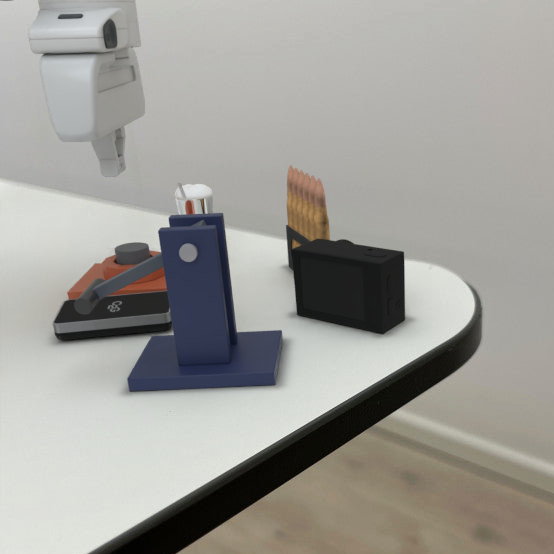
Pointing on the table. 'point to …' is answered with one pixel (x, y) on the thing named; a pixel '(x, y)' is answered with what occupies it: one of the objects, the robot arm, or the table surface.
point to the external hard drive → (115, 316)
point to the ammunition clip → (305, 211)
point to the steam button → (132, 253)
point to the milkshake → (194, 199)
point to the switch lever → (118, 281)
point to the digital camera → (350, 284)
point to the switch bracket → (203, 318)
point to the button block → (112, 269)
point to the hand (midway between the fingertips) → (114, 174)
